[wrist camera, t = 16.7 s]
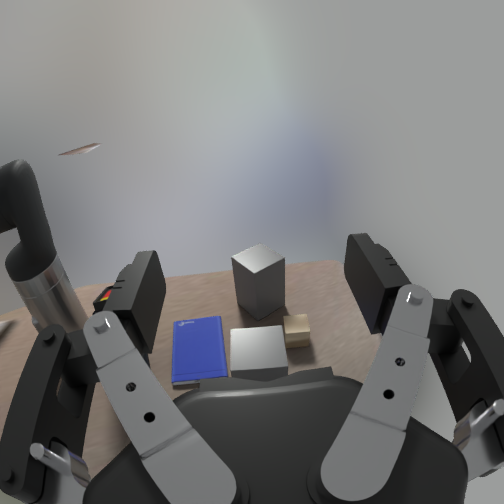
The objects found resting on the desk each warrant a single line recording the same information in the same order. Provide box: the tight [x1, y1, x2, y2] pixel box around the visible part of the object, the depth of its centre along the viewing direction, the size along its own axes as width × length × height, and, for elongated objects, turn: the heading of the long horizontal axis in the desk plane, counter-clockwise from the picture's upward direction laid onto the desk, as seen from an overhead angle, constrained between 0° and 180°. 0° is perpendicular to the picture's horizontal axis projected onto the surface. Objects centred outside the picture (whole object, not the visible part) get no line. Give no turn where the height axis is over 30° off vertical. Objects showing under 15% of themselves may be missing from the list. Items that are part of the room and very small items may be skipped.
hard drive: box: [172, 316, 228, 385], centre depth 43 cm, size 2×8×12 cm
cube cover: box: [230, 325, 288, 382], centre depth 34 cm, size 6×6×10 cm
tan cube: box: [283, 314, 310, 348], centre depth 43 cm, size 4×4×4 cm
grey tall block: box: [231, 243, 285, 321], centre depth 49 cm, size 6×6×10 cm
